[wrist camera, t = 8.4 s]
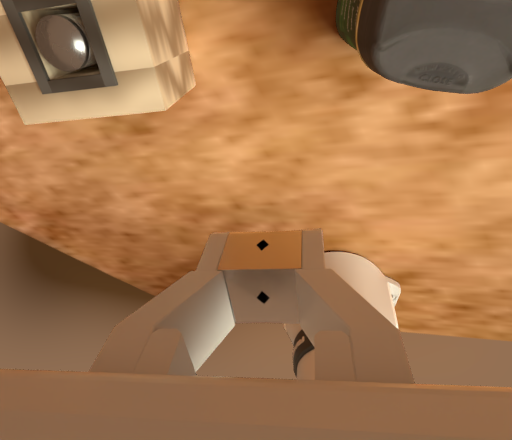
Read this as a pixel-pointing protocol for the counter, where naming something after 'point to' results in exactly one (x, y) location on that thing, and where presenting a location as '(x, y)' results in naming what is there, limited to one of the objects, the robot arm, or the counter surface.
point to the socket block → (97, 60)
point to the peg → (64, 42)
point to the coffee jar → (432, 41)
